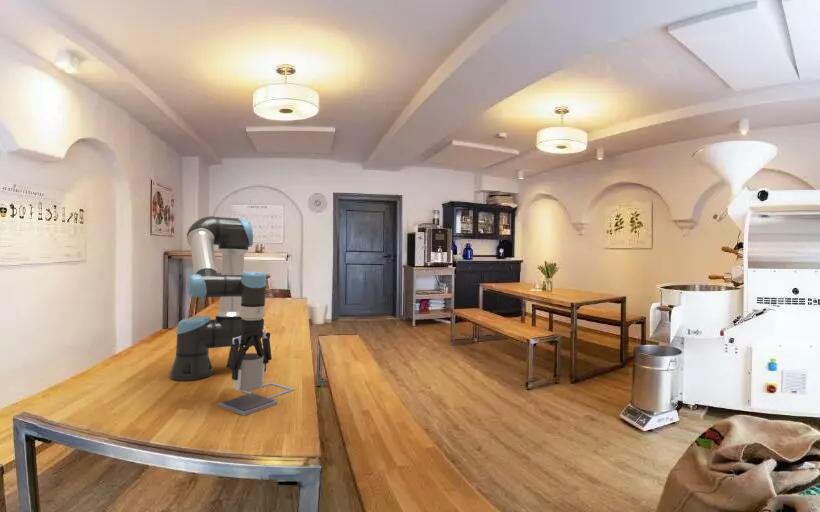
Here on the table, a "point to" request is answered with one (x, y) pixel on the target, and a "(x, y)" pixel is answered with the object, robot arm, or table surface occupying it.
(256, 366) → the cup
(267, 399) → the pad
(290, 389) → the marked square
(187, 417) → the table surface
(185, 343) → the robot arm
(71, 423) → the table surface
